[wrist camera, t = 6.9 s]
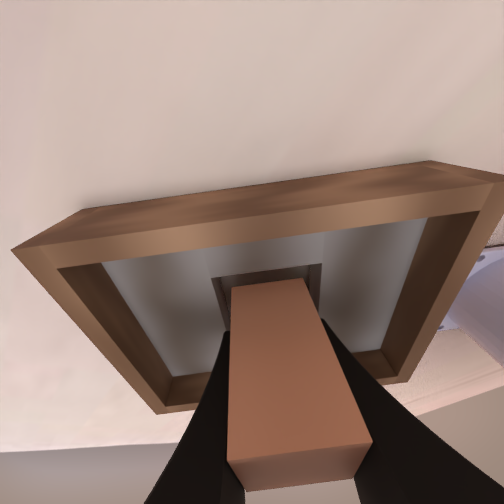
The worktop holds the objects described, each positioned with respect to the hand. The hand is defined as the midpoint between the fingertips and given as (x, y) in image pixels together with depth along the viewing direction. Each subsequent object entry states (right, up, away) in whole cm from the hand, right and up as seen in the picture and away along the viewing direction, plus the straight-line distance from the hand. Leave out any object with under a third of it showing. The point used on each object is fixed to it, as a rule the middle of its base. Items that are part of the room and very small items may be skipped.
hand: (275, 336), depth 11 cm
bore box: (0, +2, +3) cm, 4 cm away
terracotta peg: (0, +1, +2) cm, 2 cm away
